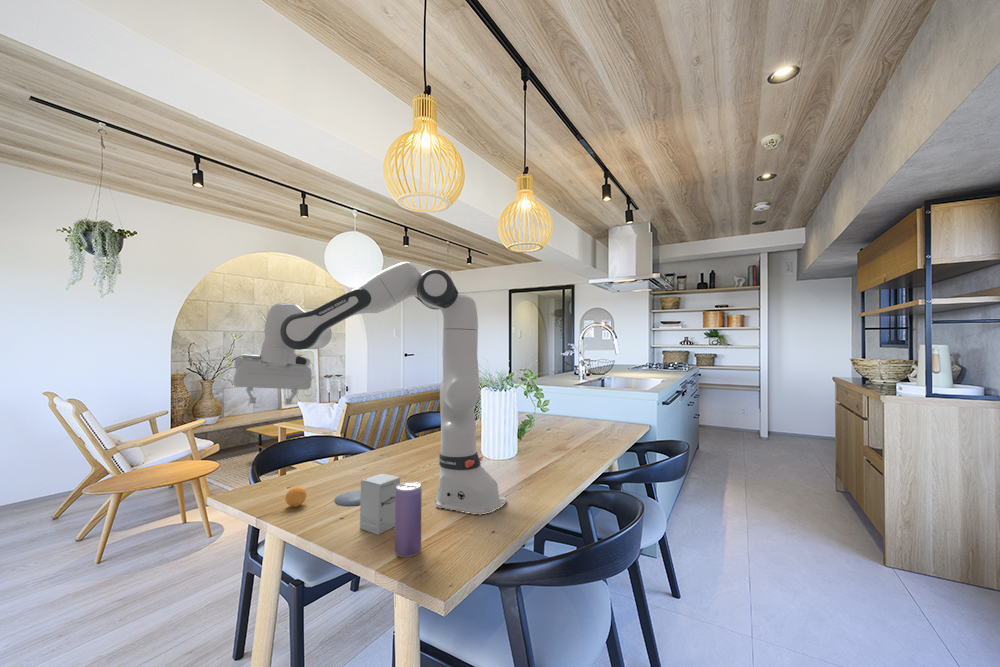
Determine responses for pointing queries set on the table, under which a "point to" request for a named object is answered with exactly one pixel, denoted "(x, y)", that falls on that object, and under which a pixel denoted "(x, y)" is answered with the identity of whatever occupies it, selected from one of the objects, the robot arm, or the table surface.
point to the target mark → (349, 498)
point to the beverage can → (408, 519)
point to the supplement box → (378, 503)
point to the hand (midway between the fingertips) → (270, 403)
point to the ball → (295, 496)
